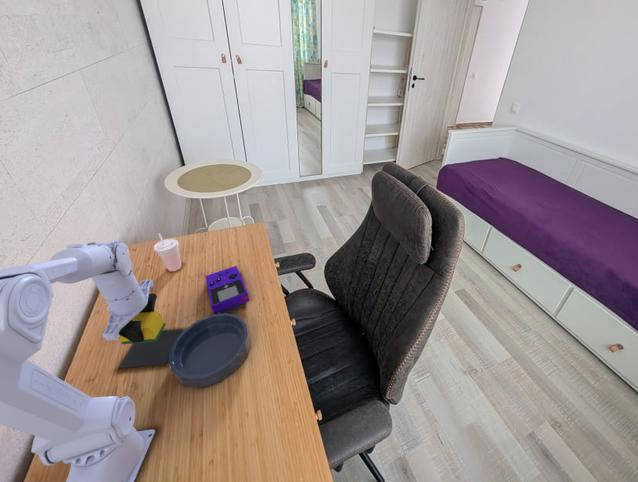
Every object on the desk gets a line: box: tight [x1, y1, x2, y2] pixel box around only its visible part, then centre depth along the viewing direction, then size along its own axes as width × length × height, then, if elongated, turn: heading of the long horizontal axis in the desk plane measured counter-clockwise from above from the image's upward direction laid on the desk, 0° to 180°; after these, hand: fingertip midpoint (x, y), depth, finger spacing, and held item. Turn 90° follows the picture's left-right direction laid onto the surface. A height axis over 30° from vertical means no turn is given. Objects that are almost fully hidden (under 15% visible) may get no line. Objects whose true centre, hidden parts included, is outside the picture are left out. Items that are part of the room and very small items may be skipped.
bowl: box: [168, 313, 251, 389], centre depth 68 cm, size 16×16×4 cm
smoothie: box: [153, 232, 182, 272], centre depth 89 cm, size 6×6×14 cm
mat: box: [118, 328, 184, 370], centre depth 69 cm, size 9×10×1 cm
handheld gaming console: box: [204, 265, 250, 315], centre depth 84 cm, size 9×5×15 cm
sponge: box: [118, 311, 166, 345], centre depth 65 cm, size 4×7×5 cm, turn 98°
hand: (144, 330), depth 66 cm, fingers closed on sponge, 4 cm apart
